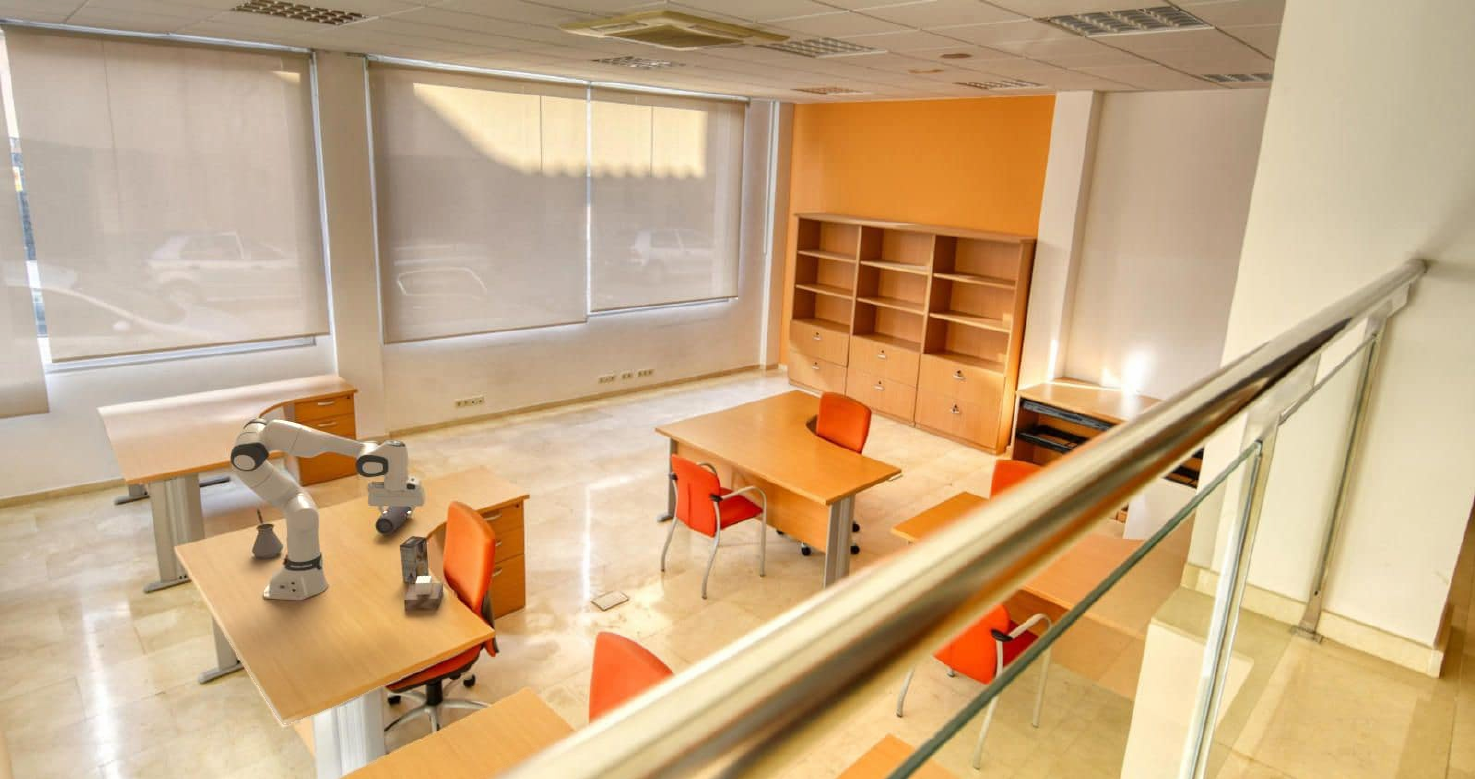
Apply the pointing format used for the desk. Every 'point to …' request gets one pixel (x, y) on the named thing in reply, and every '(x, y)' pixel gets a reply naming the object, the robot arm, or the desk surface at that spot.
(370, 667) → the desk surface
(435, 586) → the walnut block
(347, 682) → the desk surface
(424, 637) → the desk surface
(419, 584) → the white cube
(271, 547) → the coffee pot
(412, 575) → the coffee box
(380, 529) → the bluetooth speaker
